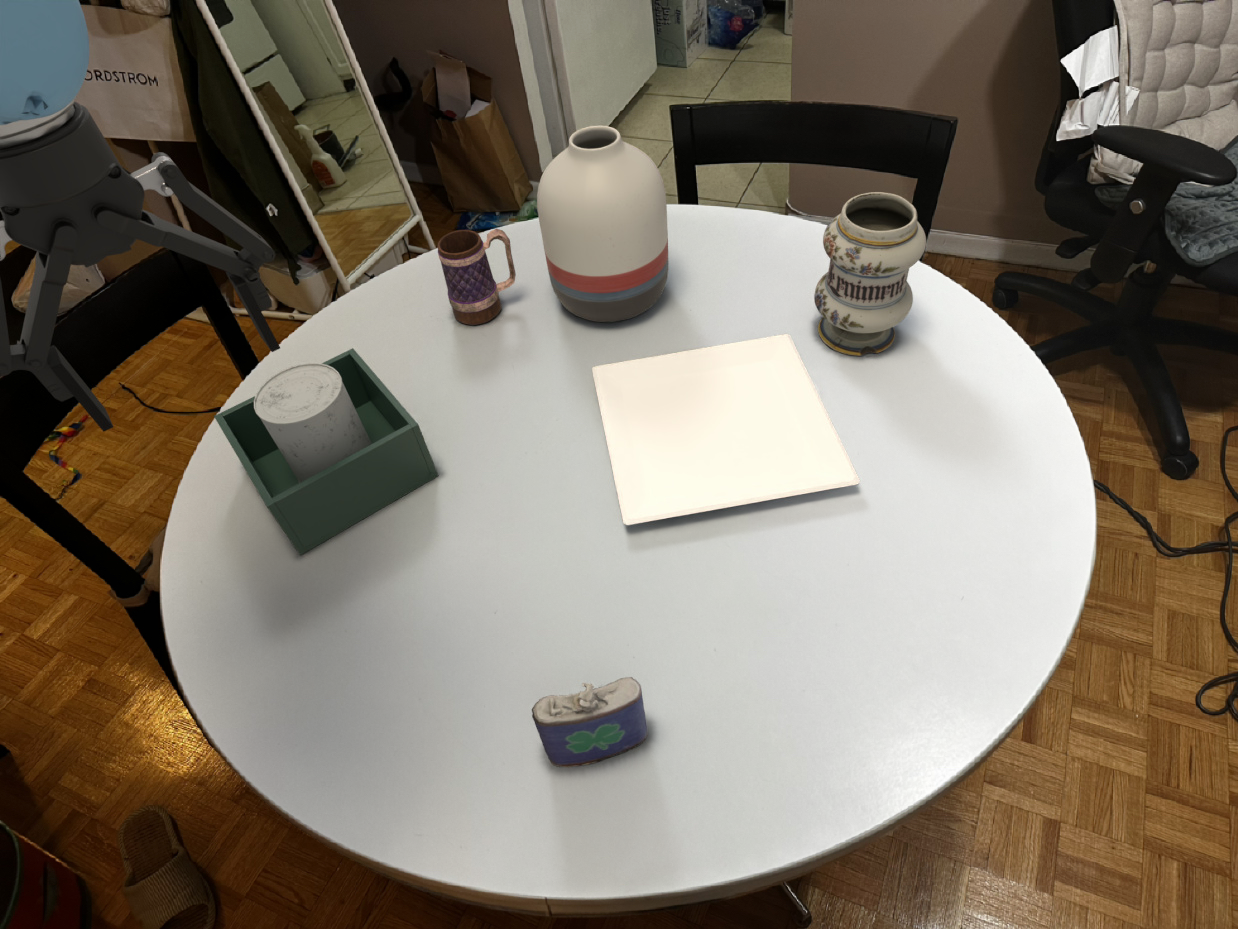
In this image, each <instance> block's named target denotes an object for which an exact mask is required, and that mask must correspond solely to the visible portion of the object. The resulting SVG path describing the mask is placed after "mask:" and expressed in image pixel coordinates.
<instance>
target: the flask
mask: <svg viewBox="0 0 1238 929" xmlns="http://www.w3.org/2000/svg"><path fill="white" fill-rule="evenodd" d="M581 687H585V690H584V691H582V690H581V691H579V692H577V693H572V694H570V693H569V694H564V695H562V694H560V695H559V694H558V695H555V694H551V695H547V696H546V695H545V696H543V697H541V698H539V699H538V700H537V702H535V703H534V705H533V707H532V708H531V713H532V714H531V718H532V720H533V722H534V725H535V728H536V731H537V734H538V736H539V739H540V741H541V744H542V747H543V750H544V753H545V754H546V756H547V758H548V760H549V762H550V763H551V764H552V765H553V766H556V767H558V768H560V767H563V768H571V767H581V766H585V765H586V766H588V765H593V764H595V763H599V762H601V761H604V760H606V759H610V758H613V757H615V756H618V755H620V754H624V753H627V752H628V751H630V750H634V749H636V748H637V747H638V746H639V745H641V744H643V743H644V741H646V738H647V737H648V733H649V730H648V729H649V728H648V723H647V719H646V718H647V717H646V711H645V705H644V698H643V690H642V685H641V684H640V682H639V681H638V680H637V679H635V678H633V677H632V676H625V677H621V678H619V679H616V680H615V681H612V682H609V683H607V684H605V685H603V686H598V687H597V688H596V687H595V686H594V685H593V684H592V683H587V682H583V683H582V684H581ZM594 687H595V688H594Z"/></svg>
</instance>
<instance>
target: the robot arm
mask: <svg viewBox="0 0 1238 929" xmlns="http://www.w3.org/2000/svg"><path fill="white" fill-rule="evenodd" d="M89 38H90V36H89V31H88V26H87V22H86V18H85V14H84V11H83V9H82V6H81V3H80V0H0V213H1V220H0V262H1V261H3V260H4V259H5V257H6V255H7V254H6V245H7V244H8V243H9V242H12V241H13V242H15V243H16V244H17V245H21V246H23V247H25V248H28V249H30V250H33V251H36V253H35V268H34V272H33V278H32V282H31V287H30V292H29V297H28V301H27V305H26V311H25V316H24V320H23V324H22V329H21V334H20V338H19V339H20V340H16V344H10V336H9V330H8V329H9V328H8V322H7V314H6V307H5V301H4V300H5V299H4V292H3V285H2V279H1V277H0V377H5V376H8V375H10V374H11V373H12V372H14V371H27V372H29V373H32V374H33V375H34V376H35V377H36V378H37V380H38V381H39V382H40V383H41V384H42V385H43V386H44V387H45V389H46V390H47V391H48V392H49V393H50V394H51V396H52V397H53V398H54V399H55V400H57V401H59V402H62V403H63V402H64V401H67V400H69V399H71V398H75V399H76V401H77V402H78V403H79V404H80V405H81V407H82V408H83V409H84V411H86V413H87V414H88V415H89V416H90V418H92V420H93V421H94V422H95V423H96V425H97V426H98V427H99V428H100V430H102V432H107V431H108V430H111V429H113V428H114V424H113V422H112V420H111V417H110V416H109V413H108V411H107V409H106V407H105V406H104V405H103V404H102V402H101V401H100V400H99V399H98V398H97V396H96V395H95V394H94V393H93V391H92V390H91V389H90V387H89V386H88V385H87V384H86V382H84V380H83V379H82V377H80V375H79V374H78V373H77V371H76V370H75V369H74V368H73V367H72V365H71V364H70V363H69V361H68V360H67V359H66V358H65V356H63V354H62V353H61V352H60V350H59V349H58V348H57V347H56V346H55V344H53V345H52V340H53V335H54V331H55V327H56V323H57V319H58V313H59V310H60V309H59V308H60V305H61V300H62V296H63V292H64V287H65V286H66V285H67V282H68V280H69V275H70V270H71V266H84V267H85V268H88V267H91V266H94V265H96V264H99V263H100V262H101V261H102V260H104V259H105V258H107V257H109V256H115V255H116V256H117V255H122V254H124V253H126V252H129V251H132V250H133V248H132V246H133V245H134V244H135V243H136V241H137V240H138V241H141V242H143V243H146V244H149V245H151V246H154V247H157V248H165V249H167V250H170V251H172V252H174V253H178V254H180V255H183V256H186V257H188V258H190V259H194V260H196V261H198V262H201V263H204V264H206V265H209V266H211V267H214V268H216V269H218V270H222V271H224V272H225V274H226V276H227V278H228V280H229V281H230V284H231V285H232V287H233V289H234V290H235V292H236V294H237V296H238V298H239V300H240V301H241V302H240V303H242V305H243V308H244V309H245V311H246V313H247V315H248V316H249V318H250V319H251V322H252V323H253V325H254V327H255V329H256V331H257V333H258V334H259V336H260V338H261V340H262V341H263V342H264V343H265V345H266V347H267V348H268V349H269V350H270V352H271V353H274V352H275V351H278V350H280V349H281V346H280V344H279V342H278V341H277V339H276V336H275V335H274V333H273V331H272V329H271V327H270V325H269V323H268V321H267V320H266V317H265V316H264V314H263V312H264V311H266V310H268V309H270V308H272V307H273V305H272V304H273V302H272V299H271V297H270V295H269V293H268V291H267V289H266V287H265V285H264V283H263V281H262V279H261V273H260V272H259V271H260V269H261V267H262V266H263V265H264V264H265V263H271V262H272V261H274V259H275V258H276V252H275V251H274V249H273V247H271V245H269V243H268V242H267V241H266V240H265V239H264V237H262V235H260V234H258V232H256V231H255V230H254V229H252V228H251V227H249V226H248V225H247V224H245V223H244V222H243V221H241V220H240V219H239V218H237V216H235V215H233V214H232V213H231V212H229V211H228V210H227V209H226V208H224V207H223V206H222V205H220V204H219V203H218V202H216V201H215V200H214V199H213V198H211V197H209V195H207V194H206V193H204V192H203V191H201V190H200V189H199V188H197V186H195V185H194V184H193V183H191V182H190V181H188V179H187V178H186V177H185V175H184V174H183V172H182V171H181V169H180V168H179V167H178V166H177V164H176V163H175V162H174V161H173V159H171V157H170V156H169V155H168V154H167V153H165V152H161V151H158V152H155V153H154V154H153V155H152V157H151V163H149V164H147V165H145V166H143V167H141V168H139V169H137V170H135V171H133V172H130V171H128V170H127V169H126V168H124V167H123V166H122V164H121V163H120V162H119V160H118V158H117V156H116V155H115V153H114V151H113V150H112V148H111V146H110V144H109V143H108V142H107V139H106V138H105V135H103V133H102V131H101V130H100V127H99V126H98V125H97V123H96V121H95V119H94V117H93V116H92V115H91V113H90V110H89V109H88V108H87V107H86V106H84V105H83V104H80V103H79V102H77V101H76V100H77V97H78V94H79V92H80V91H81V88H82V86H83V85H84V82H85V79H86V76H87V73H88V68H89V64H90V52H91V51H90V39H89ZM147 190H152V191H155V192H156V193H158V194H159V195H161V196H163V197H172V196H173V195H174V196H176V198H177V200H179V201H180V202H181V204H183V206H184V205H185V207H187V208H188V209H189V210H191V211H192V212H194V213H195V214H196V215H198V216H199V217H201V218H202V219H203V220H204V221H206V222H208V223H209V224H210V225H211V226H212V227H214V228H216V229H217V230H218V231H220V232H221V233H223V234H224V235H226V236H227V237H228V238H229V239H231V240H232V241H234V242H235V243H237V244H238V245H239V246H240V247H242V249H241V250H240V251H239V250H238V249H235V248H233V247H230V246H228V245H225V244H223V243H221V242H218V241H216V240H213V239H211V238H208V237H206V236H203V235H201V234H199V233H196V232H195V231H194V232H193V231H191V230H189V229H186V228H184V227H182V226H179V225H177V224H174V223H173V222H169V221H167V220H166V219H165V220H164V219H163V218H160V217H158V215H156V214H154V213H153V212H150V211H148V210H145V209H144V203H145V195H146V193H145V191H147Z"/></svg>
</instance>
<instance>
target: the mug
mask: <svg viewBox="0 0 1238 929" xmlns="http://www.w3.org/2000/svg"><path fill="white" fill-rule="evenodd" d="M495 240H499V241H501V242H502V243H503V244H504V249H505V255H506V256H505V257H506V262H507V266H508V269H509V277H508V278H507V279H506V280H503V281H501V282H498V283H497V282H496V280H495V279H494V276H493V272H492V269H491V265H490V261H489V259H488V256H487V255H488V254H487V252H486V250H488V249H489V248H490V247H491V244H492V242H493V241H495ZM437 255H438V259H439V261H440V264H441V265H440V266H441V268H442V273H443V277H444V281H445V284H446V288H447V297H448V301H449V305H450V306H451V309H452V312H453V316H454V318H455V320H457V321H458V322H460V323H462V324H465V325H472V326H476V325H477V326H478V325H482V324H486V323H488V322H490V321H491V320H494V319H495V317H496V316H498V314H499V313H500V312H501V310H502V302H501V300H500V299H501V298H500V294H499V292H502V291H504V290H506V289H509V288H510V287H511V286H512V285H514V284H515V282H516V269H515V264H514V260H513V255H512V246H511V239H510V238H509V236H508V235H507V233H506V232H505V231H504V230H503V229H500V228H495V229H492V230H490V231H489V232H488V233H486V240H485V241H483V239H482V237H481V235H480V234H479V233H478V232H476V231H475V230H471V229H458V230H454V231H451V232H448V233H447V234H444V235H443V236H442V237H441V238H440V239H439V240H438V243H437Z"/></svg>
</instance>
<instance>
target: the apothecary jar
mask: <svg viewBox="0 0 1238 929" xmlns="http://www.w3.org/2000/svg"><path fill="white" fill-rule="evenodd" d="M840 212H841V213H839V214H837V215H836V216H835V217H834V218H833V219H831V221H829V223H828V224H827V225H826V228H825V229H824V232H823V235H822V236H823V237H822V245H823V250H824V251H825V253H826V255H827V257H828V258H829V265H828V271H827V272H825V273H824V274H823V275H822V277H820V279H819V280H818V282H817V284H816V286H815V291H814V293H813V294H814V305H815V308H816V309H817V311H818V313H819V314H820V316H822V318H821V319H820V320H819V322H818V325H817V332H818V335H819V337H820V339H821V340H822V342H823V343H824V344H825V345H826V346H828V347H829V348H830V349H832V350H834V351H836V352H839V353H841V354H844V355H848V356H856V357H857V356H858V357H862V356H863V355H866V354H869V353H872V354H879V353H882V352H884V351H885V350H887V349H888V348H890V346H891V345H892V344H893V342H894V340H895V337H896V331H895V326H897V325H899V324H900V323H902V321H903V320H904V319H906V317H907V316H908V314H909V313H910V311H911V310H912V306H913V303H914V294H913V290H912V288H911V285H910V284H909V282H908V276H909V272H910V268H912V266H915V264H916V263H917V262H919V261H920V259H922V256H923V255H924V253H925V250H926V246H927V236H926V233H925V230H924V228H923V227H922V225H921V224H920V222H919V221H918V212H917V209H916V207H915V206H914V205H913V203H912V202H910V201H909V200H908V199H907V198H905V197H904V196H901V195H898V194H895V193H890V192H884V191H883V192H881V191H875V192H874V191H873V192H865V193H861V194H858V195H855V196H853V197H851V198H850V199H848V200H847V201H846V202H845V203H844V204H843V206H842V209H841V211H840Z"/></svg>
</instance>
